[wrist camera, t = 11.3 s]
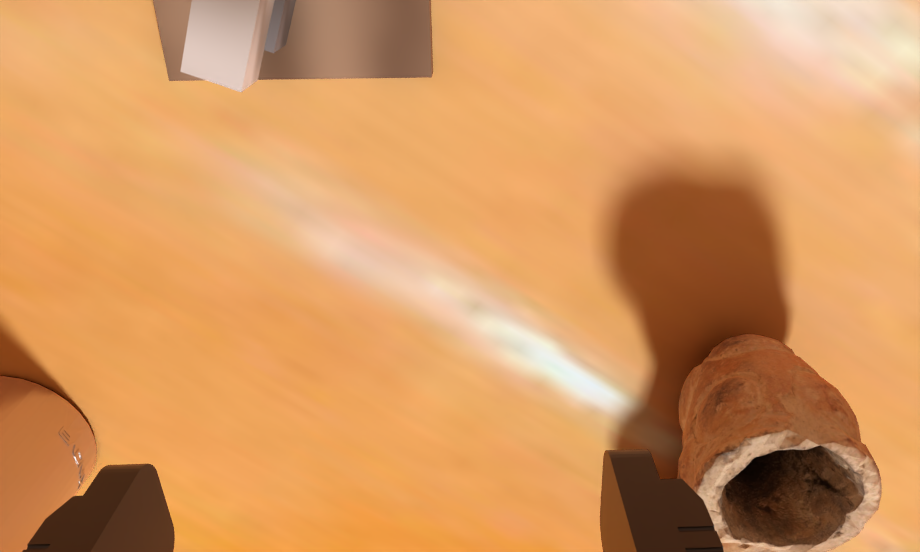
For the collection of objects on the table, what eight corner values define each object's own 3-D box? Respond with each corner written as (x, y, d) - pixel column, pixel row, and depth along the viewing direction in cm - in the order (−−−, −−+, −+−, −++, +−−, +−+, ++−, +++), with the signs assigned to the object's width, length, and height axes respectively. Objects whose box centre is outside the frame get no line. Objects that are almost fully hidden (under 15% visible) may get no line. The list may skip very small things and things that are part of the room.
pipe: (624, 524, 46) (661, 670, 37) (650, 309, 38) (704, 425, 30) (763, 523, 46) (834, 670, 37) (816, 307, 38) (921, 424, 29)
